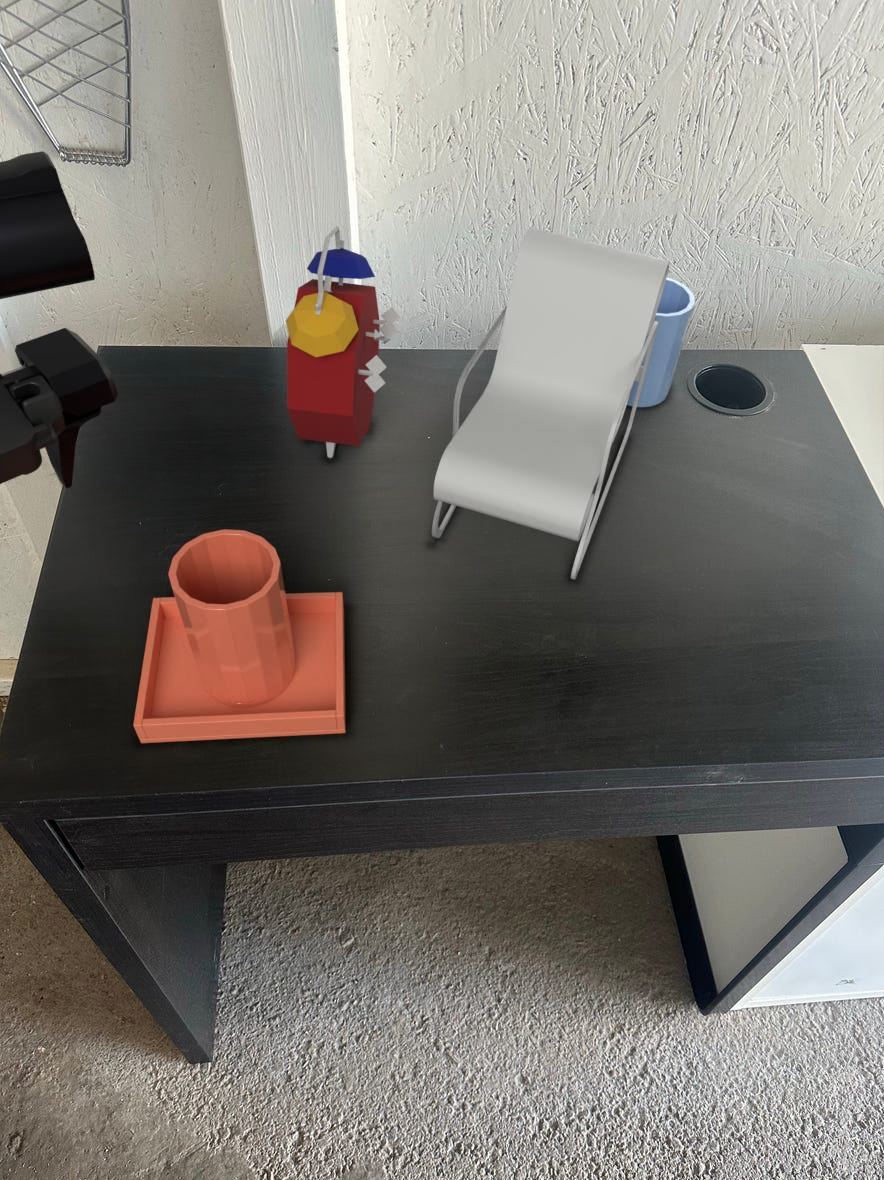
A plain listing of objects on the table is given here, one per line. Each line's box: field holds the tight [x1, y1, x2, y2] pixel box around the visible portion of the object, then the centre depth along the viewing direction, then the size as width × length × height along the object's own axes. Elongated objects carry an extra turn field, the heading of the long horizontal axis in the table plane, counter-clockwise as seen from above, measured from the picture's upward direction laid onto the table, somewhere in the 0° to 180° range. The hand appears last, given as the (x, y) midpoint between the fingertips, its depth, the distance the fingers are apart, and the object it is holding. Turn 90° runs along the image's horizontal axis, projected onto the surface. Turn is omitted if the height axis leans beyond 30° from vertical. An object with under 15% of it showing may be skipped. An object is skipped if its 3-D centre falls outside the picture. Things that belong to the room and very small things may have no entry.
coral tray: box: [132, 591, 347, 744], centre depth 70 cm, size 15×12×2 cm
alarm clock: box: [285, 225, 401, 459], centre depth 82 cm, size 15×9×20 cm, turn 174°
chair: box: [431, 226, 671, 580], centre depth 79 cm, size 13×25×20 cm, turn 161°
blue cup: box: [626, 277, 696, 408], centre depth 93 cm, size 7×7×11 cm
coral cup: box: [167, 528, 296, 708], centre depth 66 cm, size 7×7×12 cm
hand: (3, 512), depth 62 cm, fingers open, 9 cm apart
